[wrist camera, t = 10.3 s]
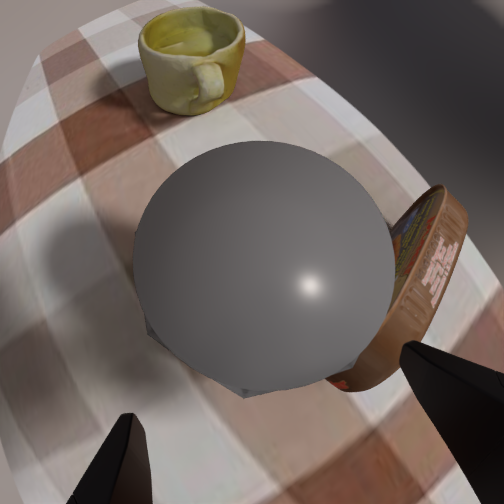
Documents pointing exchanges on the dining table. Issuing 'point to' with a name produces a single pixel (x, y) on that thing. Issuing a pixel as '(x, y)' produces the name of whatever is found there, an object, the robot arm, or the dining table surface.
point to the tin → (412, 284)
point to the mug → (191, 58)
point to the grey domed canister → (263, 266)
